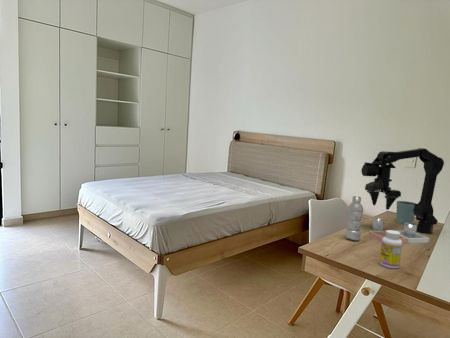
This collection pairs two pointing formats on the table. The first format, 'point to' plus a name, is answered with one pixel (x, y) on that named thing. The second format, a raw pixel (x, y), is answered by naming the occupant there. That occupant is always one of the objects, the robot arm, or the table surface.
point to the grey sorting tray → (381, 234)
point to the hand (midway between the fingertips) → (380, 207)
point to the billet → (410, 230)
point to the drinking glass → (405, 212)
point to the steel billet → (378, 224)
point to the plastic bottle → (354, 219)
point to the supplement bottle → (391, 249)
